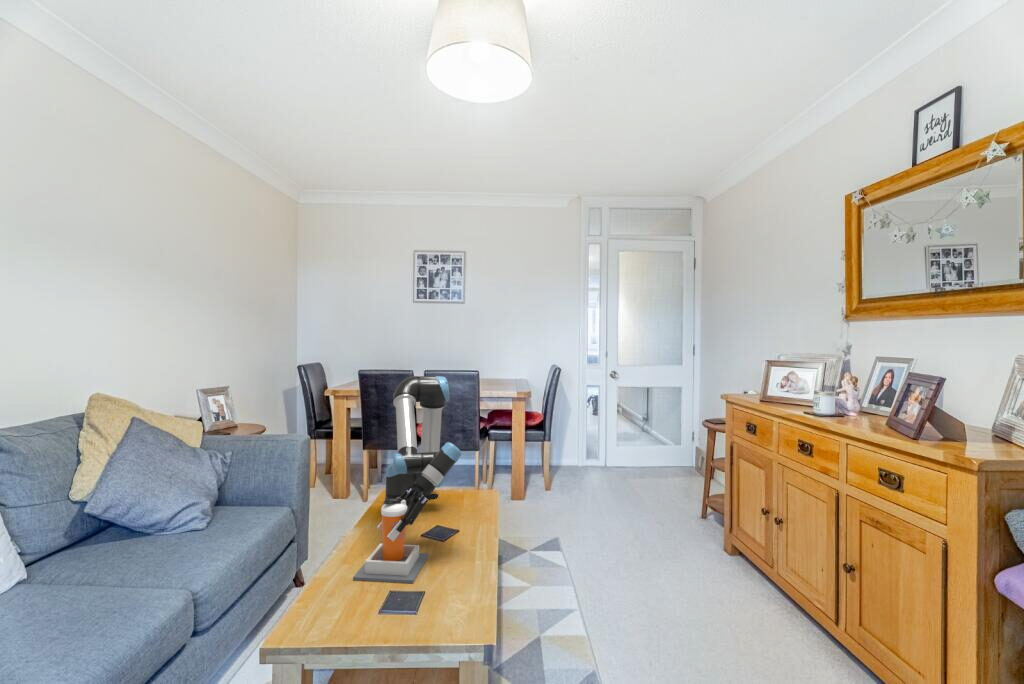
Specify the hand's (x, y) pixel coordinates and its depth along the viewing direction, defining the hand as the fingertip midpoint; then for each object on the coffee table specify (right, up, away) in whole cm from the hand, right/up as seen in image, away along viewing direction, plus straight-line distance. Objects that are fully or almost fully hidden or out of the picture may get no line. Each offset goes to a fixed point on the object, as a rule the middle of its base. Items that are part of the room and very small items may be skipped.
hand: (384, 534), depth 158 cm
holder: (+2, -12, +2) cm, 13 cm away
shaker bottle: (+2, -9, +2) cm, 10 cm away
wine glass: (+1, -14, +79) cm, 80 cm away
